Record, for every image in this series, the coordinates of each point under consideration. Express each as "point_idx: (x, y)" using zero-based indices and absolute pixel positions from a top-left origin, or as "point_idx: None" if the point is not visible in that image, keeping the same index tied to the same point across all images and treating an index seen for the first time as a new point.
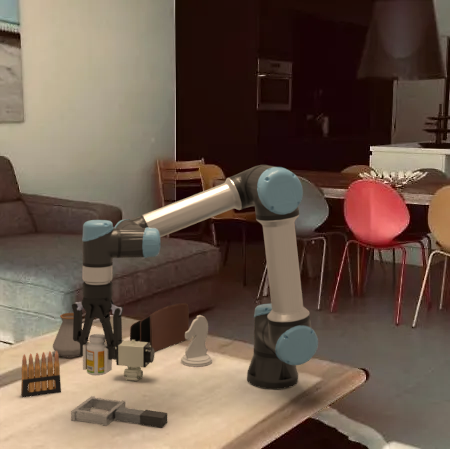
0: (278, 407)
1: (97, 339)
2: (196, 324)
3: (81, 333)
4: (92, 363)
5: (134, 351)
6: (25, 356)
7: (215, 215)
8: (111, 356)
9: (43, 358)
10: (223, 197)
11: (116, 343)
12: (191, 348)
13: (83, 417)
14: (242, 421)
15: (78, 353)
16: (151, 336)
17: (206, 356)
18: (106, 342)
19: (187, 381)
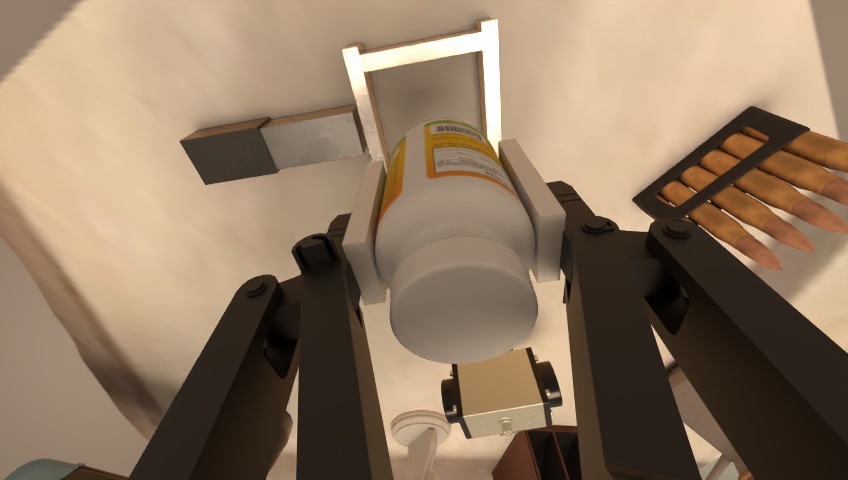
0: (119, 346)
1: (417, 269)
2: None
3: (635, 284)
4: (437, 141)
5: (487, 396)
6: None
7: None
8: (333, 226)
9: (787, 229)
10: None
11: (245, 293)
12: (425, 452)
13: (444, 36)
14: (94, 264)
15: (674, 375)
16: (533, 462)
17: (404, 442)
18: (342, 279)
19: (372, 365)
